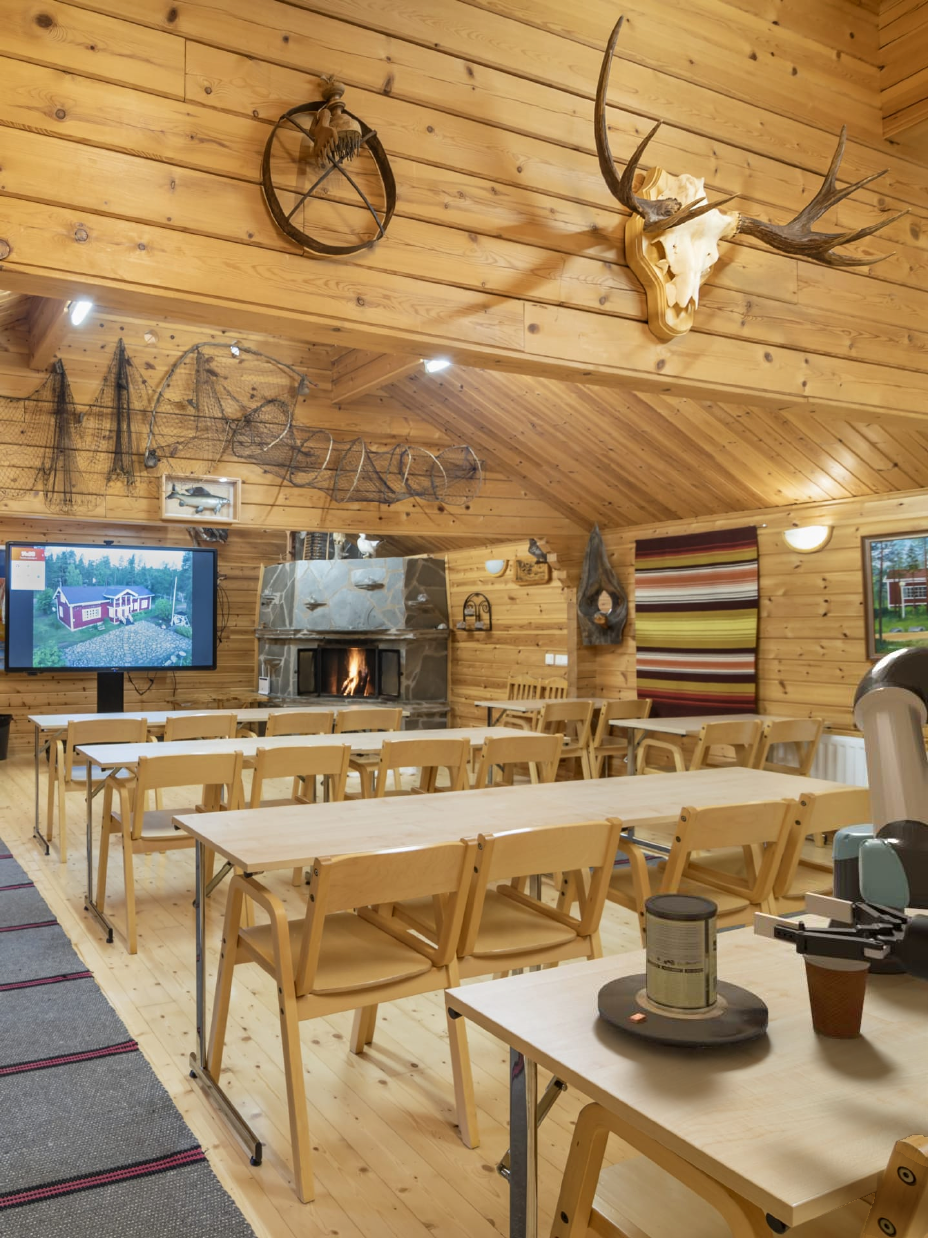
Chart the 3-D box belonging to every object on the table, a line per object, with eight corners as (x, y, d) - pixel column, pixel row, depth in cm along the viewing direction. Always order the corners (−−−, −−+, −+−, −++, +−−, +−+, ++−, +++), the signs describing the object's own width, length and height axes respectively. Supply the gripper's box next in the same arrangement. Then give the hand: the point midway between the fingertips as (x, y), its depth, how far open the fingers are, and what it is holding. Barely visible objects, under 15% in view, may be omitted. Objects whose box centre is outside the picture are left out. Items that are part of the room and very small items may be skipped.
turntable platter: (660, 971, 153) (660, 958, 153) (799, 1014, 135) (799, 999, 135) (563, 1009, 136) (564, 995, 136) (708, 1064, 119) (708, 1047, 119)
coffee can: (638, 987, 141) (638, 893, 141) (707, 987, 141) (706, 893, 141) (653, 1015, 131) (653, 913, 131) (727, 1015, 131) (726, 913, 131)
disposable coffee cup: (879, 1047, 129) (879, 958, 129) (806, 1040, 131) (806, 953, 131) (864, 1020, 138) (864, 937, 139) (796, 1014, 140) (796, 933, 140)
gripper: (902, 1013, 103) (731, 962, 119) (984, 959, 120) (825, 920, 136) (902, 944, 104) (731, 902, 119) (984, 900, 120) (825, 868, 136)
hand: (781, 912), depth 128 cm, fingers open, 13 cm apart
